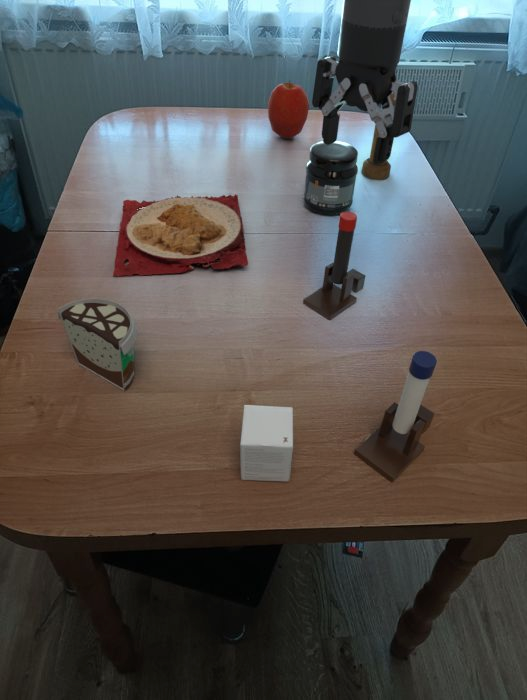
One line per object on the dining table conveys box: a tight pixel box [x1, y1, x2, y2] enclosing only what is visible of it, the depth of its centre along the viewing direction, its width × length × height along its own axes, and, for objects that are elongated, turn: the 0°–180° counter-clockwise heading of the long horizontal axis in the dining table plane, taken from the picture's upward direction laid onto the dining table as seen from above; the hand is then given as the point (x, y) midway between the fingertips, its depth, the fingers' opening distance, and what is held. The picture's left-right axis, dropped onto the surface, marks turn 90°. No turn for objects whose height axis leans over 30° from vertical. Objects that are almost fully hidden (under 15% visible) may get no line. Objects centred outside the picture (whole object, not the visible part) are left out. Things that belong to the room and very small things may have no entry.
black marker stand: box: [302, 262, 366, 321], centre depth 90 cm, size 11×6×6 cm, turn 135°
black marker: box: [331, 211, 358, 285], centre depth 85 cm, size 12×3×3 cm
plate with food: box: [112, 194, 249, 277], centre depth 104 cm, size 24×26×4 cm
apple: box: [267, 79, 310, 139], centre depth 136 cm, size 10×10×14 cm
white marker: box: [392, 350, 438, 434], centre depth 63 cm, size 12×3×3 cm
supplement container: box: [302, 140, 359, 216], centre depth 112 cm, size 10×10×12 cm
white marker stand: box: [353, 402, 435, 483], centre depth 69 cm, size 11×6×6 cm, turn 135°
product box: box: [239, 404, 294, 483], centre depth 65 cm, size 6×6×7 cm
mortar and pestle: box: [361, 92, 396, 181], centre depth 121 cm, size 7×6×18 cm
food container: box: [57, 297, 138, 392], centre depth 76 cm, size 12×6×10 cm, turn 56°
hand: (353, 152), depth 73 cm, fingers open, 8 cm apart
